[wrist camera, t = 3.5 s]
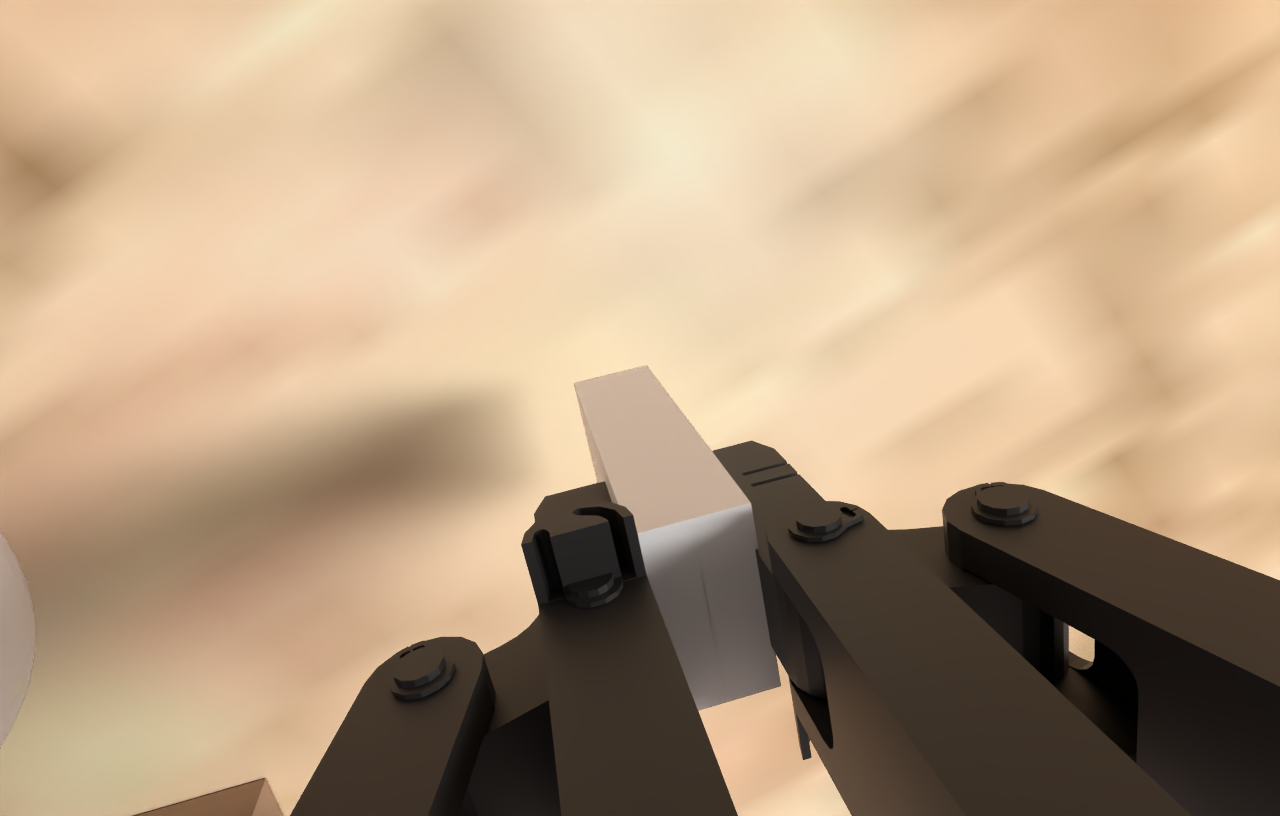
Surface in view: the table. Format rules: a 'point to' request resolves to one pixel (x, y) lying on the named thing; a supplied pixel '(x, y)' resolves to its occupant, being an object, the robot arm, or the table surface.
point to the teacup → (14, 637)
